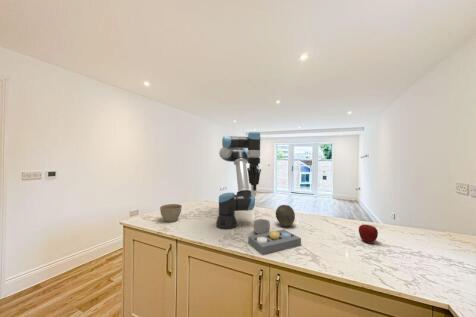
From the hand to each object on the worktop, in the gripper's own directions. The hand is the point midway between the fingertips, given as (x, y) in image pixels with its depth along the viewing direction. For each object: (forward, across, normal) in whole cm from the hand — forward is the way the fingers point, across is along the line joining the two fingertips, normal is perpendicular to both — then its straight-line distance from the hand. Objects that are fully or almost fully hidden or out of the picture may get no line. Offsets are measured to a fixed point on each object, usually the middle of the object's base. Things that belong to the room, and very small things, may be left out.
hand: (253, 195), depth 119 cm
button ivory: (+26, +12, -2) cm, 28 cm away
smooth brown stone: (+27, -10, +33) cm, 44 cm away
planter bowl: (+27, -57, -41) cm, 75 cm away
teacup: (+27, -6, +10) cm, 29 cm away
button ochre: (+24, +12, +7) cm, 28 cm away
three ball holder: (+26, +12, +7) cm, 30 cm away
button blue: (+26, +12, +16) cm, 32 cm away
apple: (+27, +33, +60) cm, 73 cm away
